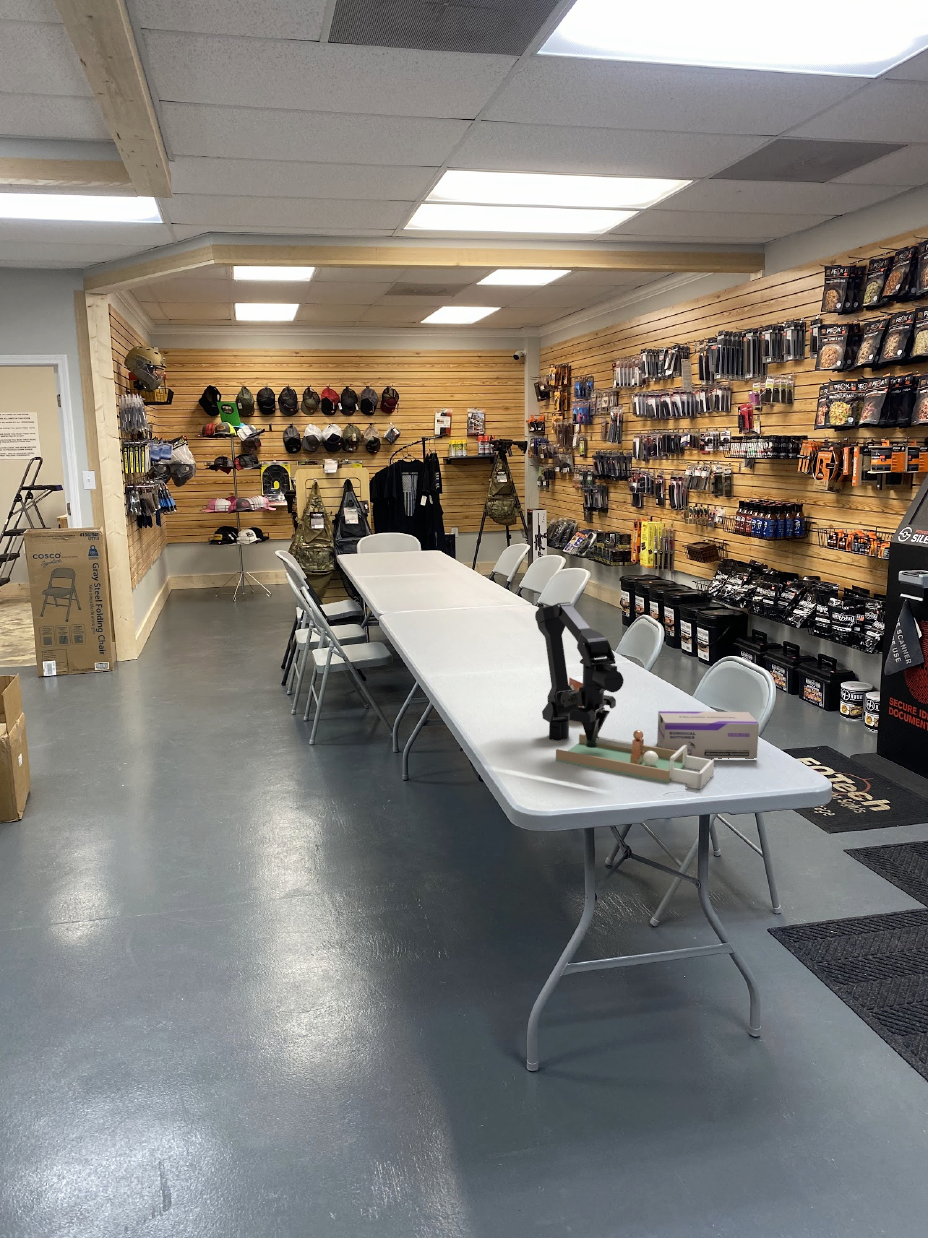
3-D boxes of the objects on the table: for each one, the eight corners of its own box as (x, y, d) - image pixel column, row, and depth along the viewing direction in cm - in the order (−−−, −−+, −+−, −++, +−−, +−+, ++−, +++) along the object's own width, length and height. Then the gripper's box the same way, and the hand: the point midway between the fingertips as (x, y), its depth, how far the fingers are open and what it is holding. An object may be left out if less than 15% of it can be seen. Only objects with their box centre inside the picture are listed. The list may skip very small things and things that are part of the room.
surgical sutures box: (663, 760, 241) (665, 722, 239) (656, 747, 252) (658, 711, 250) (756, 761, 240) (758, 723, 238) (746, 748, 251) (748, 712, 249)
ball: (645, 762, 235) (646, 747, 234) (660, 764, 233) (660, 750, 232) (640, 766, 232) (640, 752, 231) (655, 769, 229) (655, 754, 229)
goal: (683, 769, 234) (684, 744, 232) (713, 775, 230) (714, 749, 228) (668, 783, 224) (670, 757, 223) (700, 789, 220) (701, 763, 219)
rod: (589, 749, 243) (590, 717, 242) (645, 759, 235) (646, 727, 234) (582, 755, 239) (583, 722, 238) (638, 765, 231) (639, 732, 229)
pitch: (580, 747, 251) (580, 733, 250) (687, 767, 235) (688, 752, 235) (555, 764, 238) (555, 750, 237) (667, 786, 222) (668, 771, 221)
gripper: (580, 671, 249) (578, 725, 252) (550, 686, 233) (549, 743, 236) (617, 676, 243) (615, 731, 246) (590, 692, 227) (588, 750, 230)
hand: (591, 738), depth 240 cm, fingers closed on rod, 3 cm apart
